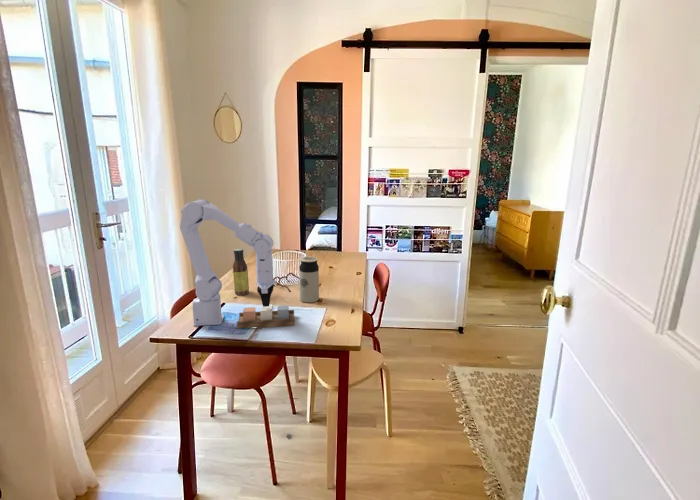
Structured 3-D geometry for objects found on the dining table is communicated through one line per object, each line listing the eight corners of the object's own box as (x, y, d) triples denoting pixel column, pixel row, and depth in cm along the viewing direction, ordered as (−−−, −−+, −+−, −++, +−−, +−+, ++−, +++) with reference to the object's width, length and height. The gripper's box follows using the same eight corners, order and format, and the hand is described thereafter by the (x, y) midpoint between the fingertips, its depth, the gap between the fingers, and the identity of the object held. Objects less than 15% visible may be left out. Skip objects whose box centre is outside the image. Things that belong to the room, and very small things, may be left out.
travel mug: (310, 295, 171) (310, 255, 167) (322, 299, 166) (322, 258, 162) (296, 299, 166) (295, 258, 162) (307, 304, 161) (307, 262, 156)
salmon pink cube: (243, 321, 139) (242, 311, 139) (244, 316, 143) (244, 307, 142) (255, 320, 140) (254, 311, 139) (255, 316, 144) (255, 307, 143)
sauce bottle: (251, 293, 173) (249, 249, 168) (239, 296, 168) (236, 252, 164) (243, 290, 177) (241, 247, 172) (231, 293, 173) (228, 249, 168)
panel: (237, 329, 137) (236, 322, 136) (239, 318, 146) (239, 312, 145) (294, 325, 140) (294, 319, 140) (294, 315, 149) (293, 309, 148)
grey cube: (277, 319, 141) (277, 310, 141) (277, 314, 145) (277, 306, 144) (288, 318, 142) (288, 309, 141) (288, 314, 146) (288, 305, 145)
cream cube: (260, 320, 140) (260, 311, 140) (261, 315, 144) (260, 306, 143) (272, 319, 141) (271, 310, 140) (272, 315, 145) (272, 306, 144)
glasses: (292, 281, 192) (292, 271, 191) (311, 286, 184) (311, 276, 183) (271, 287, 182) (271, 277, 181) (290, 293, 174) (290, 283, 173)
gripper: (275, 275, 132) (277, 312, 135) (276, 263, 146) (277, 298, 149) (254, 276, 131) (256, 314, 134) (257, 264, 145) (258, 299, 148)
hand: (266, 305), depth 142 cm, fingers closed
